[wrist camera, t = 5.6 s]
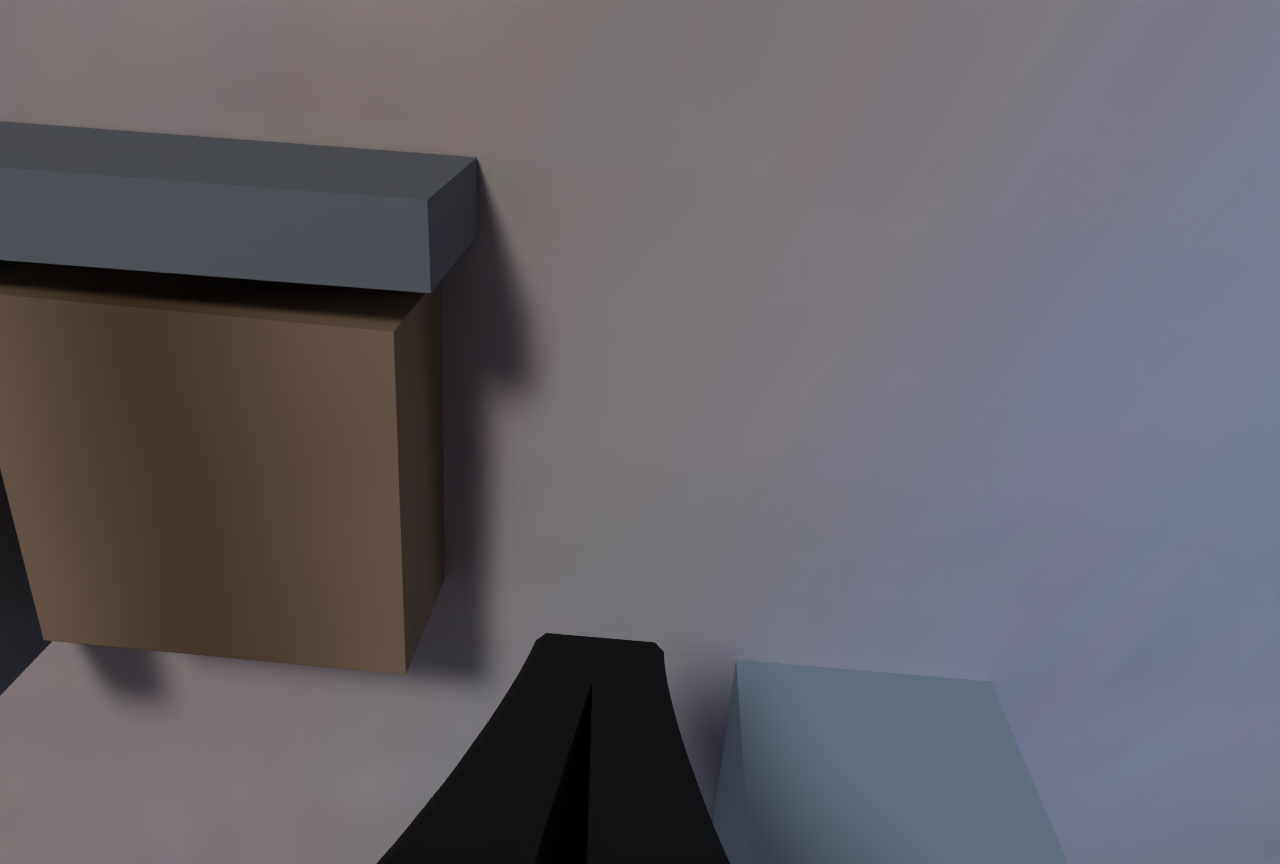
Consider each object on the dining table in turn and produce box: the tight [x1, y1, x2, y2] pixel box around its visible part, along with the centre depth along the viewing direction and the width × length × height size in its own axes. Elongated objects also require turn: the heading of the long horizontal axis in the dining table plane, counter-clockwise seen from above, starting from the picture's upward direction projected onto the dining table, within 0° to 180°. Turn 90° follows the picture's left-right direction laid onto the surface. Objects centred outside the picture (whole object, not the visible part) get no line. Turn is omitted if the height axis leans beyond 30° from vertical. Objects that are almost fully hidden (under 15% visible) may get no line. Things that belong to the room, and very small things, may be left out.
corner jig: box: [0, 122, 478, 695], centre depth 15 cm, size 9×9×3 cm
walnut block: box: [0, 262, 444, 674], centre depth 15 cm, size 6×6×3 cm
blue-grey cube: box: [712, 660, 1068, 864], centre depth 17 cm, size 5×5×5 cm
